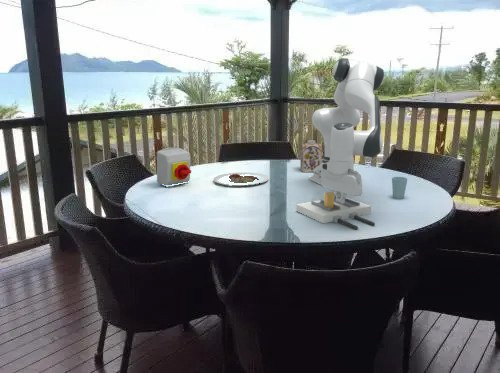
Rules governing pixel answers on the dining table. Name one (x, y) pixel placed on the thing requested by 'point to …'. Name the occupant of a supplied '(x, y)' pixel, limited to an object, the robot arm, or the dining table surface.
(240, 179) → the plated food
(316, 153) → the decorative jar
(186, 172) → the electrical switch box
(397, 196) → the cup
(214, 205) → the dining table surface
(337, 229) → the dining table surface
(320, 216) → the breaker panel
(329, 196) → the amber toggle
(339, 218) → the power cords
